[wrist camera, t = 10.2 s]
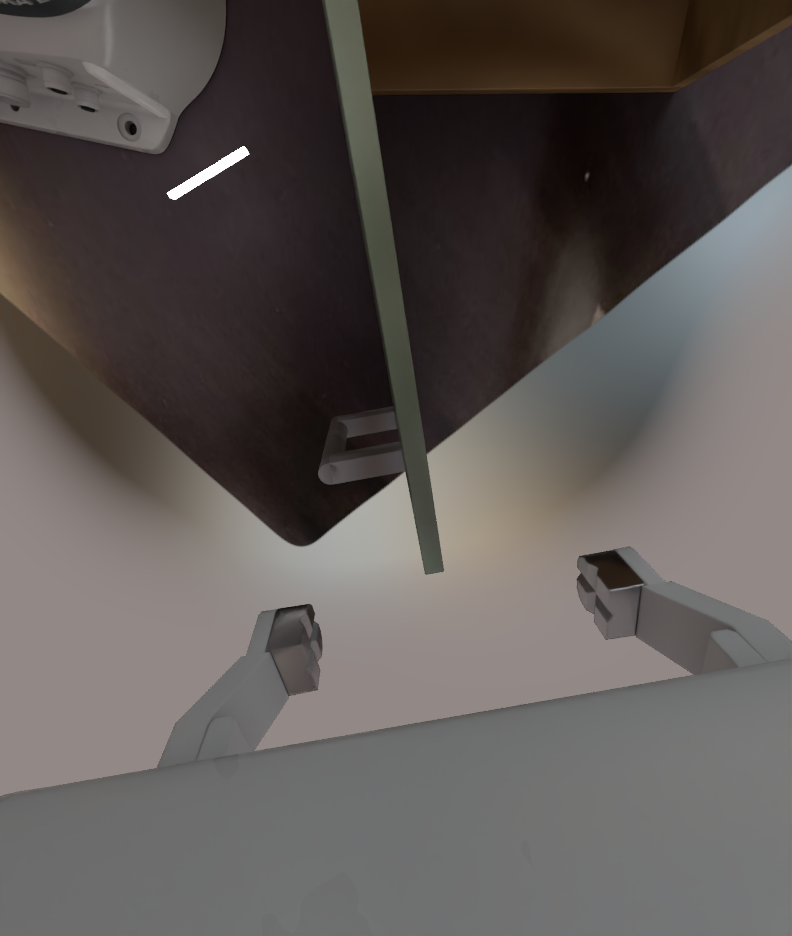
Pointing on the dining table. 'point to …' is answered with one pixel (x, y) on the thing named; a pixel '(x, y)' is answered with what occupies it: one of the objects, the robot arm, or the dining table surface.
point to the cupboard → (557, 43)
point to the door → (377, 298)
